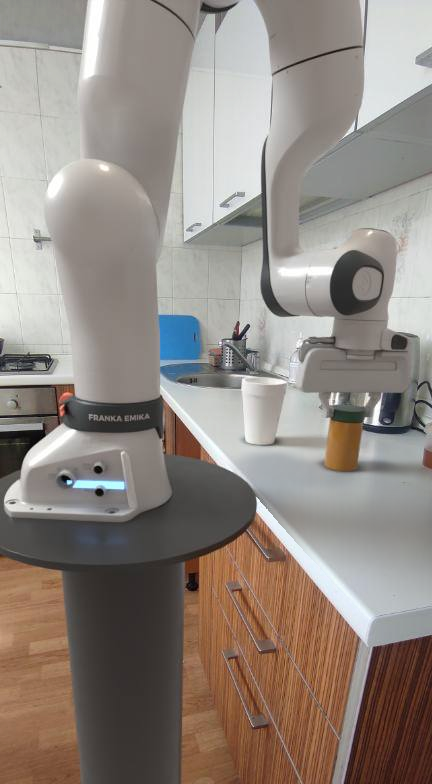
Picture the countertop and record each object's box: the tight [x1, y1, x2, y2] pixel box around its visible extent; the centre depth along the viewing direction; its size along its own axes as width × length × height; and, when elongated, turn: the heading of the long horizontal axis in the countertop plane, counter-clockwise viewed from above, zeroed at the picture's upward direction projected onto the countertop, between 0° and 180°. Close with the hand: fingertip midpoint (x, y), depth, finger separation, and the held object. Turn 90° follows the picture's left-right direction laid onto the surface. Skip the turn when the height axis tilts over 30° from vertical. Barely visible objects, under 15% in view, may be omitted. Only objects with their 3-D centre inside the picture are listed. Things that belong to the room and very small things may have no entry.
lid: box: [330, 403, 366, 422], centre depth 84 cm, size 6×6×2 cm
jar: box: [323, 418, 365, 472], centre depth 86 cm, size 6×6×11 cm
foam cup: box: [240, 376, 288, 446], centre depth 99 cm, size 10×9×13 cm
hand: (347, 416), depth 85 cm, fingers closed on lid, 6 cm apart
